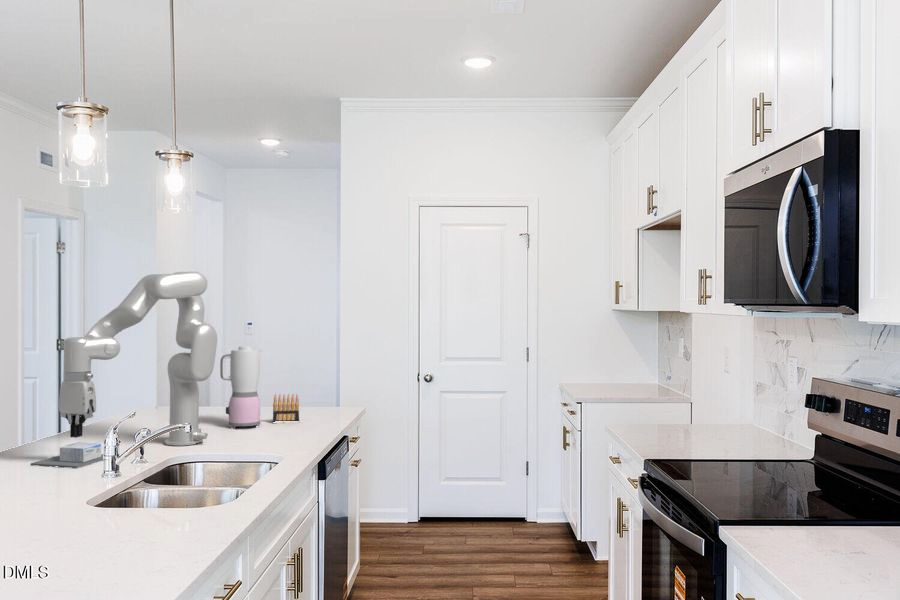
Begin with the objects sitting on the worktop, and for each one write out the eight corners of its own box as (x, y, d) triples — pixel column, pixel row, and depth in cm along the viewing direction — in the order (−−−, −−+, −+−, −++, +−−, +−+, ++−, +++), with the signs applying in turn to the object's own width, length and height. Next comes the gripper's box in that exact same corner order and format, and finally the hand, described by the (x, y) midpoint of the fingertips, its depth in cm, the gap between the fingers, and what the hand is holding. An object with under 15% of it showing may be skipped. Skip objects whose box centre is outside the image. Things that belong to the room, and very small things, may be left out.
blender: (258, 423, 287) (259, 345, 287) (262, 428, 275) (263, 347, 276) (218, 425, 280) (219, 346, 281) (220, 430, 269) (221, 347, 270)
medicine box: (58, 461, 212) (83, 463, 210) (59, 446, 212) (83, 448, 210) (77, 455, 220) (101, 457, 218) (78, 441, 220) (102, 443, 218)
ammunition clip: (299, 422, 291) (299, 393, 291) (299, 422, 289) (299, 393, 289) (272, 422, 289) (273, 393, 289) (272, 423, 287) (272, 394, 287)
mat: (113, 457, 222) (113, 455, 222) (76, 468, 206) (76, 466, 206) (70, 454, 225) (70, 452, 225) (30, 465, 209) (30, 463, 209)
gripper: (106, 376, 218) (105, 435, 217) (65, 375, 221) (64, 433, 221) (89, 379, 210) (88, 440, 210) (47, 377, 213) (46, 437, 213)
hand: (76, 436), depth 215 cm, fingers closed
